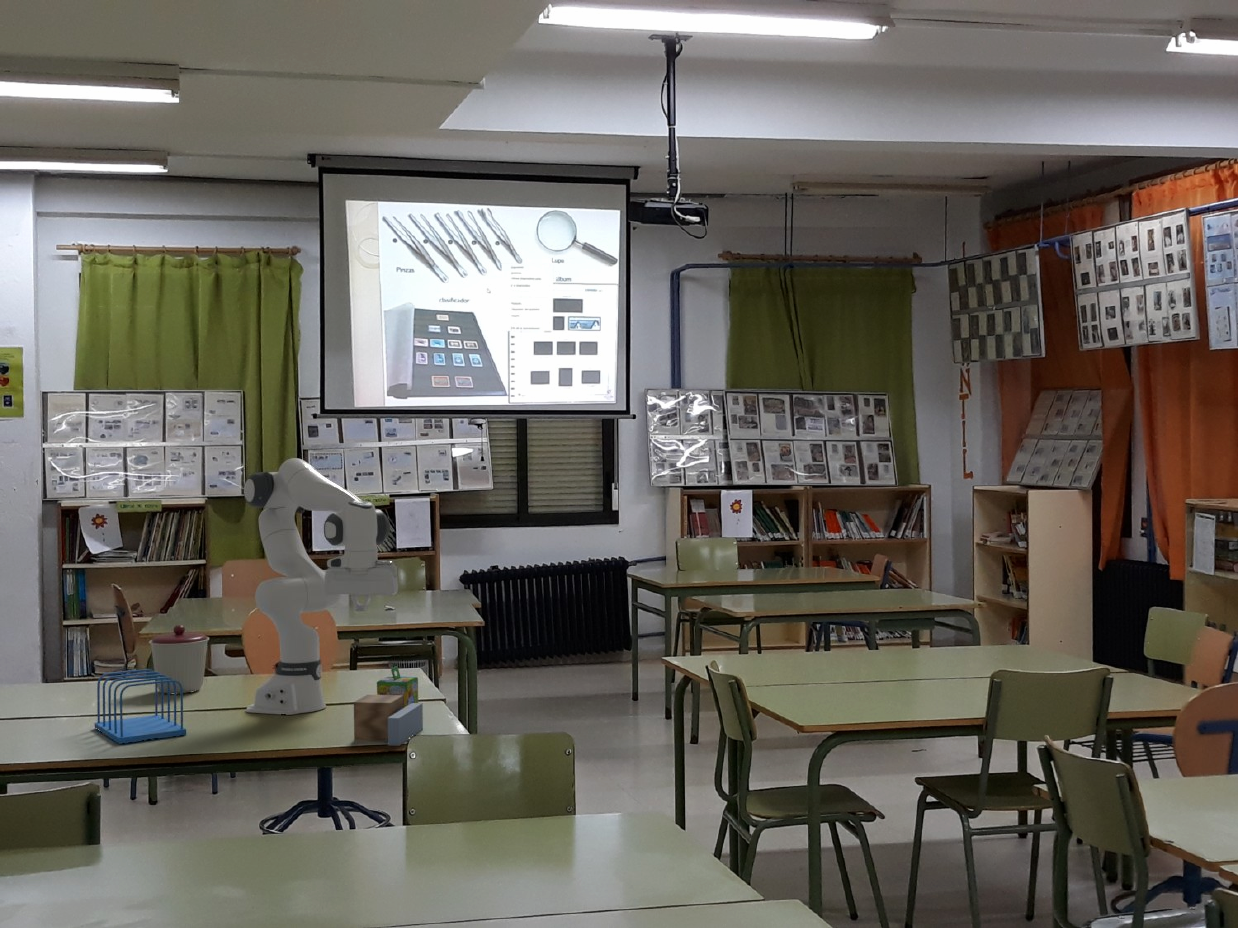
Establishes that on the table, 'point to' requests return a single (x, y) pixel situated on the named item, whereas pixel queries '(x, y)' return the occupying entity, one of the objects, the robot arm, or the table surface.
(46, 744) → the table surface
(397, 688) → the chalk box
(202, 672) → the canister
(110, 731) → the file sorter
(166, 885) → the table surface
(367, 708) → the walnut cube
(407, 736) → the board
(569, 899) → the table surface
